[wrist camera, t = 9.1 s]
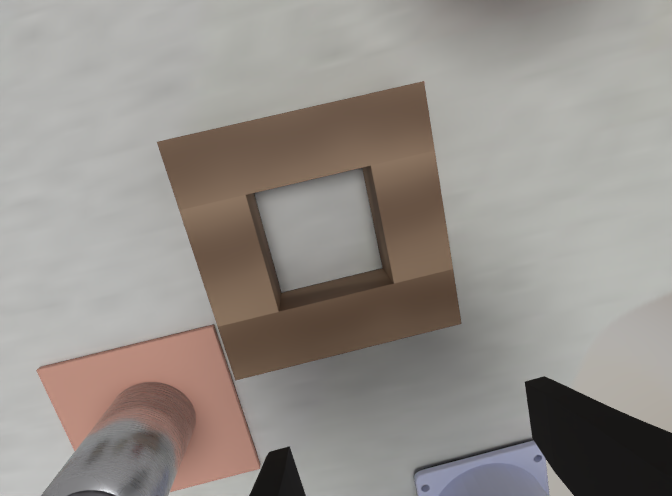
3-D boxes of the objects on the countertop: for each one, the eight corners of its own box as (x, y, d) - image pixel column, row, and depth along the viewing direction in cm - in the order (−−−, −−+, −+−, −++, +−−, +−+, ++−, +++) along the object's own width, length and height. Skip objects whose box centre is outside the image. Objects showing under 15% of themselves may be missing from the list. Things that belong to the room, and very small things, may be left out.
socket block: (442, 304, 20) (461, 323, 18) (243, 353, 20) (235, 380, 18) (407, 92, 18) (424, 81, 15) (177, 144, 17) (156, 141, 15)
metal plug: (202, 447, 21) (163, 563, 15) (120, 459, 20) (46, 582, 15) (187, 376, 20) (138, 471, 14) (100, 388, 19) (12, 490, 13)
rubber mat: (260, 464, 22) (259, 468, 21) (105, 504, 21) (102, 509, 21) (213, 324, 20) (212, 326, 19) (40, 367, 19) (36, 370, 19)
